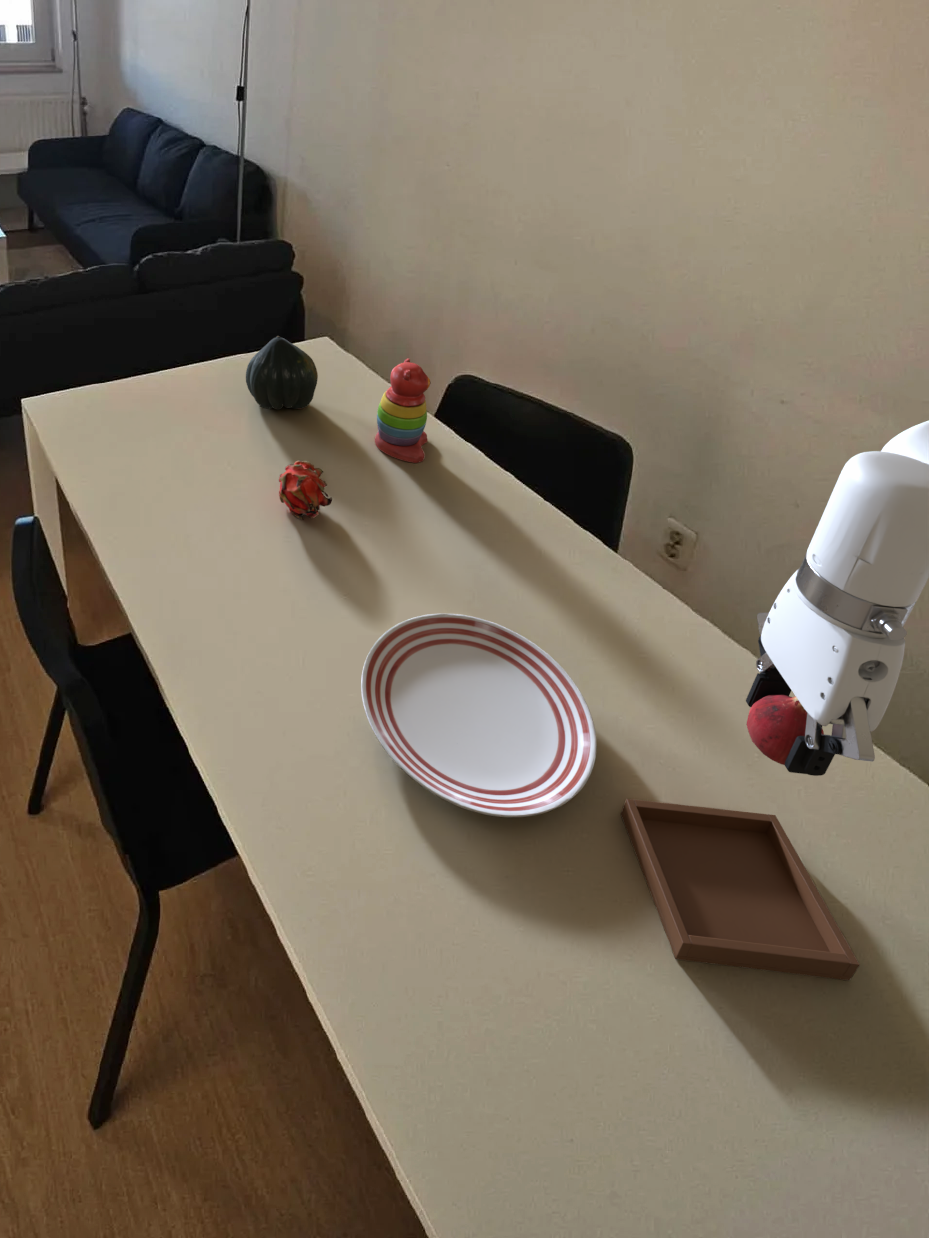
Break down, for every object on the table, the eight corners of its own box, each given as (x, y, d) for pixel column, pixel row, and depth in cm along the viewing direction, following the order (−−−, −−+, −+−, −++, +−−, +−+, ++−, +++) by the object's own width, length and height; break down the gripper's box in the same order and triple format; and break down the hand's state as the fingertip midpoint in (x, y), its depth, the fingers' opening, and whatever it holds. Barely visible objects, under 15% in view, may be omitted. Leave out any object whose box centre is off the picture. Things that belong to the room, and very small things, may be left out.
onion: (749, 777, 71) (777, 717, 67) (728, 723, 76) (753, 665, 73) (820, 793, 69) (851, 733, 66) (793, 738, 74) (822, 679, 71)
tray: (767, 830, 82) (775, 814, 81) (849, 980, 70) (860, 964, 69) (620, 813, 83) (626, 798, 82) (675, 959, 71) (683, 943, 70)
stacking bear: (423, 465, 143) (437, 382, 135) (369, 454, 145) (380, 372, 138) (427, 436, 152) (441, 357, 145) (377, 426, 155) (388, 348, 148)
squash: (309, 408, 150) (318, 335, 154) (235, 399, 153) (247, 328, 157) (314, 421, 163) (323, 354, 167) (246, 413, 166) (256, 347, 170)
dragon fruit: (294, 490, 137) (312, 542, 127) (259, 472, 133) (275, 525, 123) (326, 459, 134) (347, 510, 124) (291, 440, 130) (310, 491, 120)
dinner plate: (540, 890, 76) (547, 869, 75) (316, 723, 92) (318, 704, 91) (620, 711, 95) (626, 692, 94) (423, 599, 111) (426, 582, 110)
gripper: (981, 681, 56) (888, 836, 63) (834, 527, 72) (772, 666, 79) (874, 670, 57) (793, 825, 64) (751, 520, 72) (698, 658, 80)
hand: (782, 736), depth 71 cm, fingers closed on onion, 5 cm apart
